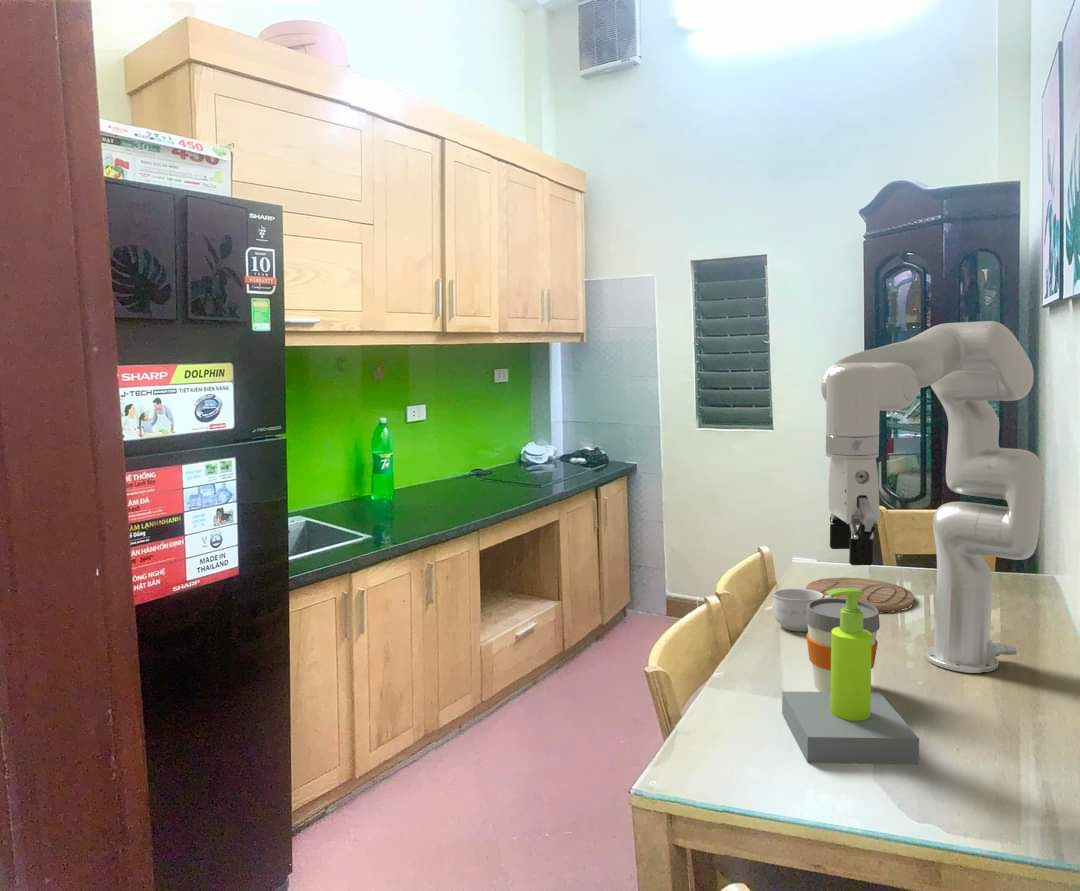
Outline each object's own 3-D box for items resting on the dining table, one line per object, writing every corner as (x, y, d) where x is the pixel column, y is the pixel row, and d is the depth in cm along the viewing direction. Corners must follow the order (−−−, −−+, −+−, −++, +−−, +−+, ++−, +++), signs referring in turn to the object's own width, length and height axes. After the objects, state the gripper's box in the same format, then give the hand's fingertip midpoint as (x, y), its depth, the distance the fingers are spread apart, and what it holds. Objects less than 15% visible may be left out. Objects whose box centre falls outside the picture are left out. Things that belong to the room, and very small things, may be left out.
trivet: (793, 603, 191) (793, 596, 191) (821, 579, 212) (821, 572, 211) (903, 621, 177) (903, 613, 177) (922, 593, 197) (922, 586, 197)
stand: (879, 715, 130) (879, 692, 130) (918, 764, 114) (919, 738, 114) (782, 714, 131) (782, 691, 131) (807, 762, 116) (807, 736, 115)
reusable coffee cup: (852, 671, 149) (854, 595, 147) (893, 699, 136) (895, 616, 135) (791, 677, 146) (792, 600, 145) (827, 706, 134) (828, 622, 133)
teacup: (770, 632, 171) (770, 597, 170) (775, 617, 181) (775, 584, 180) (838, 640, 165) (838, 603, 164) (839, 623, 175) (839, 589, 174)
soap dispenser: (817, 706, 125) (819, 585, 123) (858, 703, 126) (860, 583, 124) (834, 722, 119) (836, 595, 117) (877, 719, 120) (880, 593, 118)
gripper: (899, 453, 109) (896, 571, 111) (858, 440, 126) (856, 542, 128) (844, 454, 110) (842, 572, 112) (811, 441, 127) (810, 543, 129)
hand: (850, 556), depth 120 cm, fingers open, 9 cm apart
